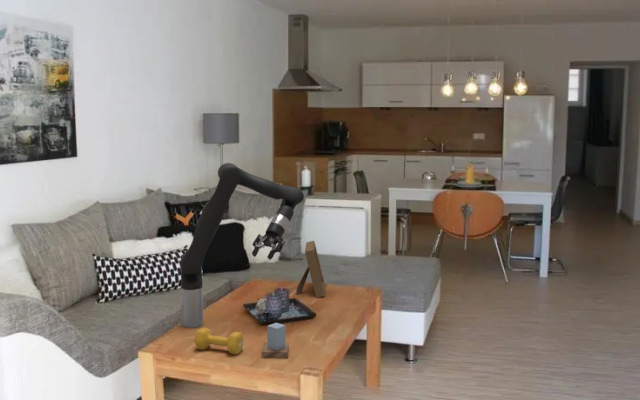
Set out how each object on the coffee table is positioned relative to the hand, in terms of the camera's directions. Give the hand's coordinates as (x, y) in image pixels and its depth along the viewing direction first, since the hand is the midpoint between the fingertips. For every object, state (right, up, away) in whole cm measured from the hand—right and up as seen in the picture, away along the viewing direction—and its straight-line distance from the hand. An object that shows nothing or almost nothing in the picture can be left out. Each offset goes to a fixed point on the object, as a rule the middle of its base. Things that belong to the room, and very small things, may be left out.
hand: (261, 257), depth 286 cm
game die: (-1, -29, +26) cm, 39 cm away
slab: (+7, -37, -21) cm, 43 cm away
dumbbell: (-15, -36, -19) cm, 43 cm away
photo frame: (+20, -24, +64) cm, 71 cm away
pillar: (+8, -34, -21) cm, 41 cm away
